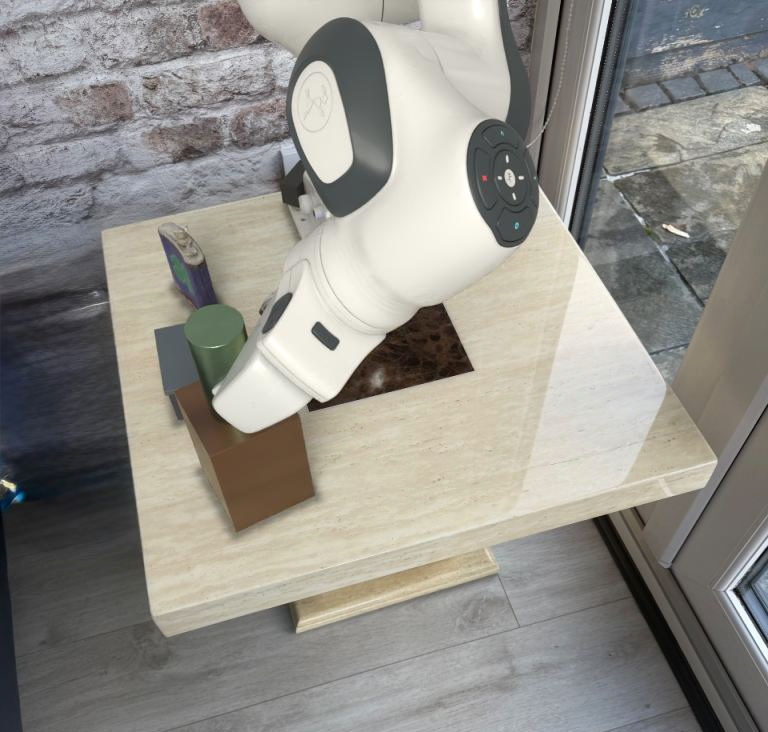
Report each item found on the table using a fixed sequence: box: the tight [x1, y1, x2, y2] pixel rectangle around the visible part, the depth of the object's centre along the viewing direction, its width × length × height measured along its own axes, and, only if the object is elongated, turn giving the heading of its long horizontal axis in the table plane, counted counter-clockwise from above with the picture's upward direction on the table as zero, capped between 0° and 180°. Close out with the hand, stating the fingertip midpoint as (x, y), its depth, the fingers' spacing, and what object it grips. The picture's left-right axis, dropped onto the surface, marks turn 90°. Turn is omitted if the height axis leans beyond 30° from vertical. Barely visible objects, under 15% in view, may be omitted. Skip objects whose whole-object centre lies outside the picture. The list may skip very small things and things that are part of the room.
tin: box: [184, 303, 249, 424], centre depth 74 cm, size 5×5×10 cm
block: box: [174, 380, 315, 533], centre depth 83 cm, size 9×9×13 cm
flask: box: [157, 221, 219, 311], centre depth 100 cm, size 9×3×11 cm, turn 36°
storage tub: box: [153, 322, 199, 421], centre depth 94 cm, size 10×6×5 cm
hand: (245, 351), depth 71 cm, fingers open, 8 cm apart
